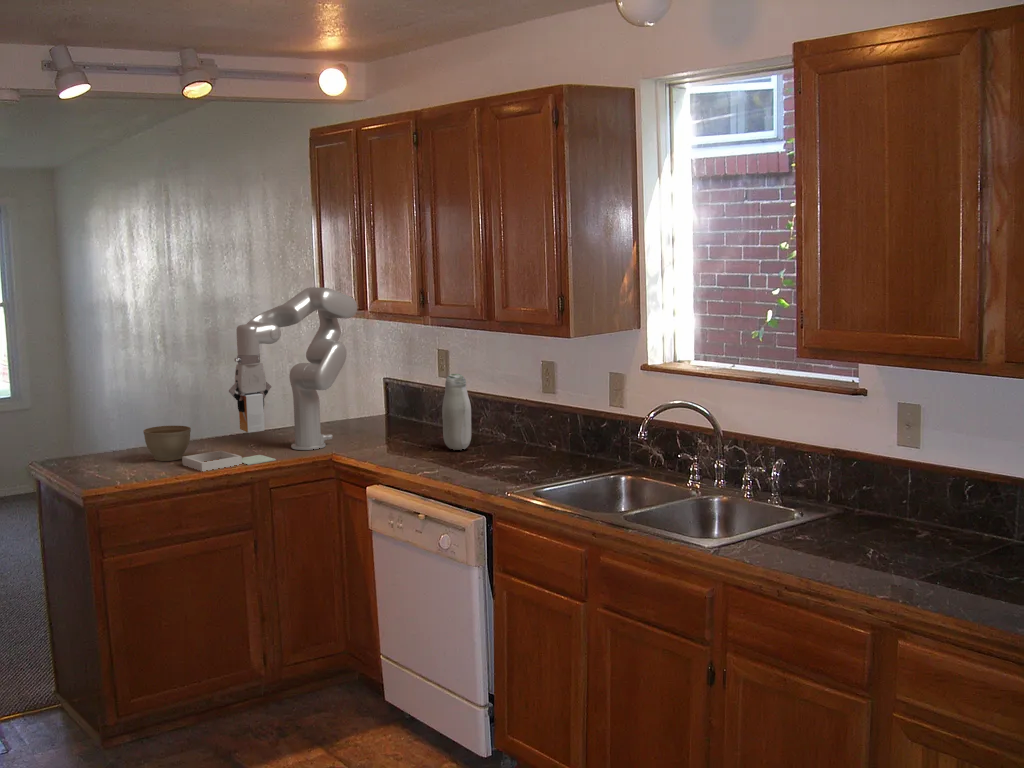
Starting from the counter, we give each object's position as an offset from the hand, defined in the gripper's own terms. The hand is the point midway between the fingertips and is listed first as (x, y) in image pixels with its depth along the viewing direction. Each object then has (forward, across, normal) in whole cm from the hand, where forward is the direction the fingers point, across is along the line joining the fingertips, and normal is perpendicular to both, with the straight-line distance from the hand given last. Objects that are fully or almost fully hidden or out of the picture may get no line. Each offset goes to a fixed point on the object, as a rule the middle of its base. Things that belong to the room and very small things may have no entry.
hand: (251, 410), depth 378 cm
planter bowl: (+18, -20, +25) cm, 37 cm away
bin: (+18, -14, +4) cm, 23 cm away
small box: (+7, 0, 0) cm, 7 cm away
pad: (+18, 0, 0) cm, 18 cm away
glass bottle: (+18, +61, -39) cm, 75 cm away
